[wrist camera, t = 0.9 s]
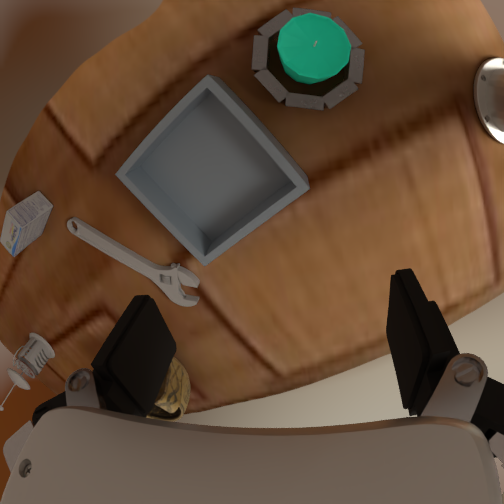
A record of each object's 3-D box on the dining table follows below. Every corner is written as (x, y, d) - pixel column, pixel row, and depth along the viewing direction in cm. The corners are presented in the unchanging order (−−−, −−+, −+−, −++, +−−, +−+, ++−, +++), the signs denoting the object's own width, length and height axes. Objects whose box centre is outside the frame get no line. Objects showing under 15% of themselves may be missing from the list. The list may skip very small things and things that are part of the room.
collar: (311, 0, 23) (313, -8, 21) (376, 73, 27) (384, 71, 24) (235, 55, 28) (230, 51, 26) (301, 127, 32) (302, 129, 29)
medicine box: (39, 189, 40) (5, 209, 32) (54, 205, 41) (21, 228, 34) (28, 219, 43) (-2, 241, 36) (42, 234, 44) (13, 258, 37)
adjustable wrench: (70, 225, 43) (64, 230, 42) (79, 194, 40) (72, 198, 39) (192, 305, 48) (188, 312, 46) (210, 280, 45) (207, 286, 43)
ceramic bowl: (161, 391, 63) (142, 443, 50) (105, 349, 58) (75, 400, 45) (225, 365, 54) (209, 432, 41) (157, 309, 49) (122, 376, 36)
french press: (34, 348, 66) (-6, 408, 45) (24, 323, 61) (-24, 386, 39) (58, 362, 67) (19, 427, 45) (49, 337, 61) (1, 407, 39)
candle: (278, 38, 27) (271, 9, 16) (330, 36, 26) (350, 9, 15) (283, 85, 30) (280, 79, 19) (335, 84, 29) (358, 78, 18)
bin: (219, 77, 30) (207, 74, 25) (307, 176, 35) (310, 188, 30) (134, 164, 36) (115, 174, 32) (213, 247, 41) (204, 266, 37)
